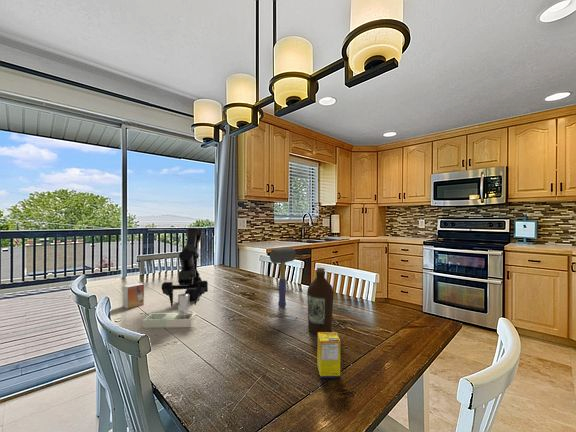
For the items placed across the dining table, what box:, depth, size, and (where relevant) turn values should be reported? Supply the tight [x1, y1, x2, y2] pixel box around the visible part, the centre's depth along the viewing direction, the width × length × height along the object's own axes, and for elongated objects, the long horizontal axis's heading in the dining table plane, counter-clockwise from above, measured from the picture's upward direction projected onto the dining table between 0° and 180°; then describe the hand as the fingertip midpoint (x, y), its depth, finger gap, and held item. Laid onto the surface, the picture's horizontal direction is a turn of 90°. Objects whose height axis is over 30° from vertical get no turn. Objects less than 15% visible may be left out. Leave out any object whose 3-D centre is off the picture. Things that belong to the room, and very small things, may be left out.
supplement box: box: [316, 331, 341, 379], centre depth 81 cm, size 6×6×11 cm
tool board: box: [141, 312, 197, 329], centre depth 115 cm, size 19×8×3 cm, turn 93°
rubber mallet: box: [269, 247, 297, 309], centre depth 137 cm, size 12×8×30 cm, turn 131°
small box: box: [122, 282, 145, 309], centre depth 136 cm, size 8×6×10 cm
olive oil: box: [306, 267, 335, 335], centre depth 111 cm, size 11×11×25 cm
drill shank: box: [177, 292, 190, 319], centre depth 116 cm, size 4×4×12 cm
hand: (183, 305), depth 114 cm, fingers open, 9 cm apart
